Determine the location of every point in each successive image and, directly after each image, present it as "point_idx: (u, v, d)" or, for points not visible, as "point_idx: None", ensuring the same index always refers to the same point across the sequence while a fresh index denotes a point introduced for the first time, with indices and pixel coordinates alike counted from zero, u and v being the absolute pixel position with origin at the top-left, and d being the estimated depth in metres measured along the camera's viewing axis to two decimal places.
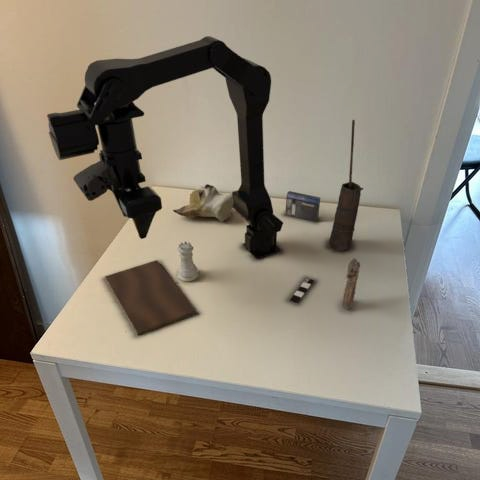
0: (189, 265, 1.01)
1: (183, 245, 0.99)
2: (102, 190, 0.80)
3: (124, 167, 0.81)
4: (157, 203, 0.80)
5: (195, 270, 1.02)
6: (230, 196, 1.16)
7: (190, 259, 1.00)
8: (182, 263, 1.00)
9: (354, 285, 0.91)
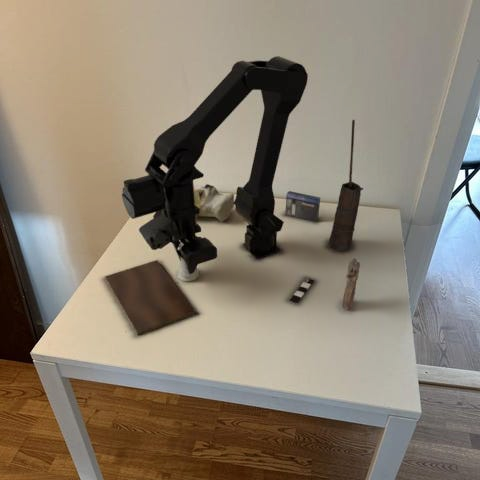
0: None
1: None
2: (166, 242, 0.91)
3: (184, 221, 0.92)
4: (214, 253, 0.91)
5: (195, 270, 1.02)
6: (230, 196, 1.16)
7: None
8: (182, 263, 1.00)
9: (354, 285, 0.91)
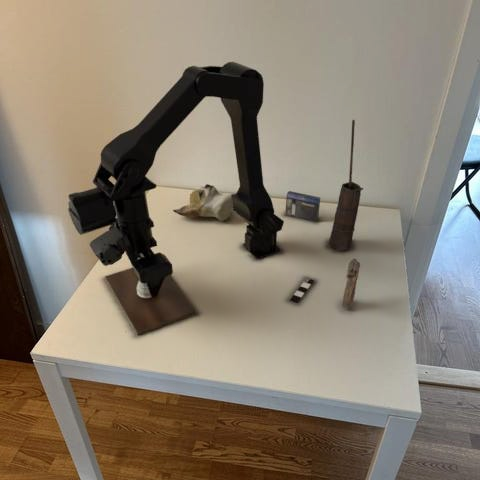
0: None
1: None
2: (117, 257, 0.85)
3: (137, 235, 0.86)
4: (168, 269, 0.86)
5: None
6: (230, 196, 1.16)
7: None
8: None
9: (354, 285, 0.91)
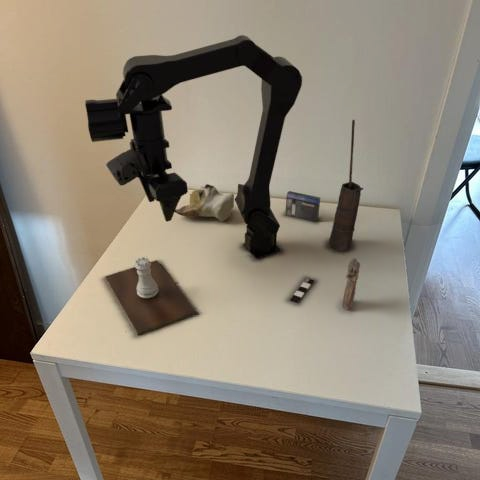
0: (147, 282, 0.95)
1: (140, 261, 0.94)
2: (133, 175, 0.87)
3: (153, 154, 0.88)
4: (183, 187, 0.88)
5: (154, 287, 0.97)
6: (230, 196, 1.16)
7: (148, 275, 0.95)
8: (140, 280, 0.95)
9: (354, 285, 0.91)
